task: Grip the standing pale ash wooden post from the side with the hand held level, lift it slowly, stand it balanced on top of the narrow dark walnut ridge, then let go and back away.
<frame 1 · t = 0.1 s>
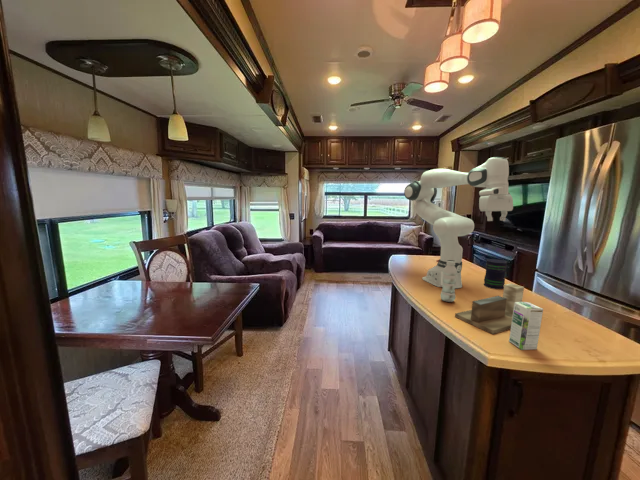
hand: (496, 220, 130), 39 cm above the table, tool pointing down, fingers open, 8 cm apart
ash post: (510, 315, 117), on the table
syrup box: (522, 346, 92), on the table
plastic bottle: (447, 301, 131), on the table
ridge: (487, 321, 110), on the table
storage jar: (493, 286, 155), on the table
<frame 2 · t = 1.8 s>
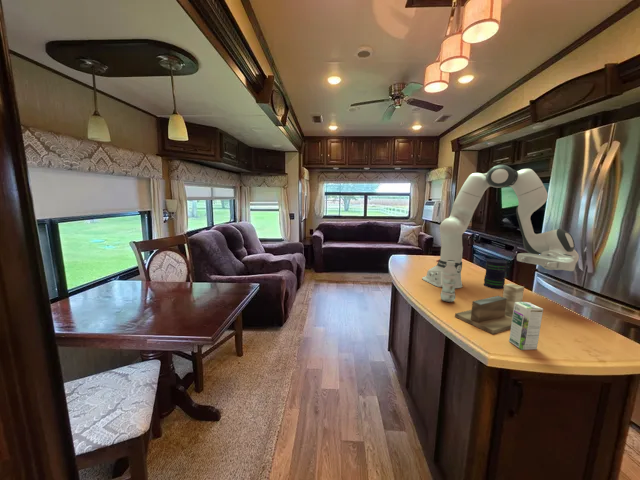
hand: (533, 262, 118), 22 cm above the table, tool horizontal, fingers open, 8 cm apart
nothing on the table moved.
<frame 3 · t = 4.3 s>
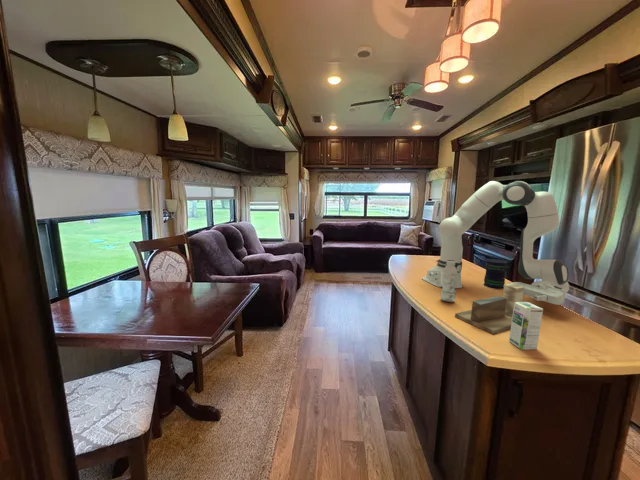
hand: (523, 294, 119), 8 cm above the table, tool horizontal, fingers open, 8 cm apart
nothing on the table moved.
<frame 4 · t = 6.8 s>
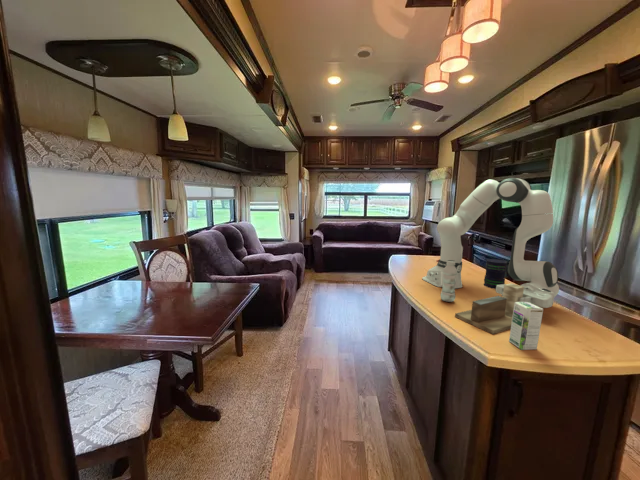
hand: (511, 297, 115), 8 cm above the table, tool horizontal, fingers closed on ash post, 5 cm apart
ash post: (510, 314, 117), on the table, touching gripper
everything else where it was.
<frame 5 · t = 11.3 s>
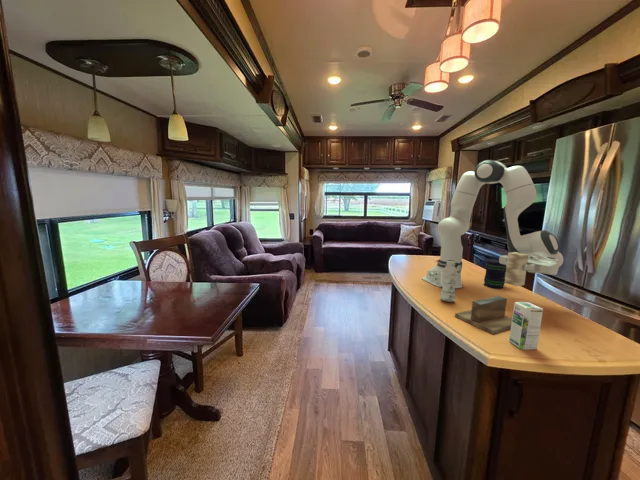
hand: (515, 265, 113), 22 cm above the table, tool horizontal, fingers closed on ash post, 5 cm apart
ash post: (514, 283, 115), point 14 cm above the table, touching gripper
everything else where it was.
when the fingers open (18 cm above the table, at t = 15.7 s): ash post stays where it is, resting on ridge.
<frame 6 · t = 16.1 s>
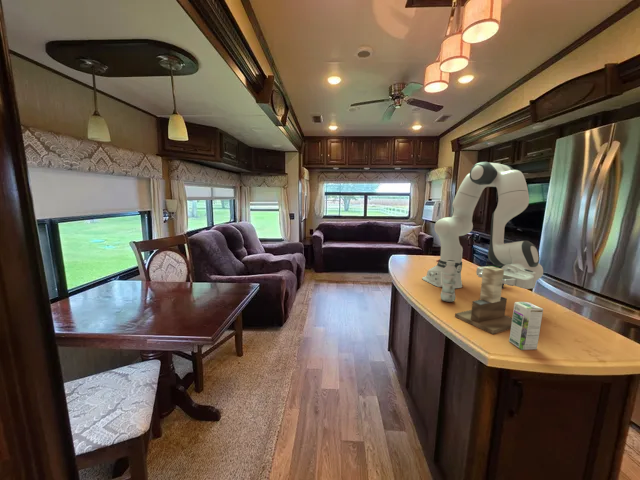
hand: (491, 278, 107), 18 cm above the table, tool horizontal, fingers open, 8 cm apart
ash post: (489, 299, 109), point 9 cm above the table, touching ridge
everything else where it was.
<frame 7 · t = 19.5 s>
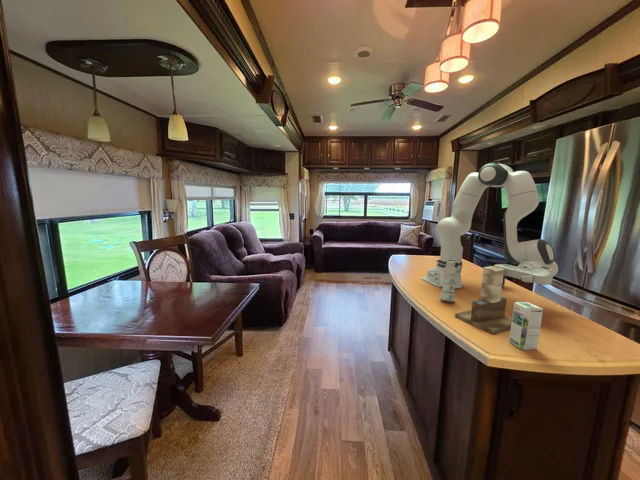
hand: (509, 275, 112), 18 cm above the table, tool horizontal, fingers open, 8 cm apart
nothing on the table moved.
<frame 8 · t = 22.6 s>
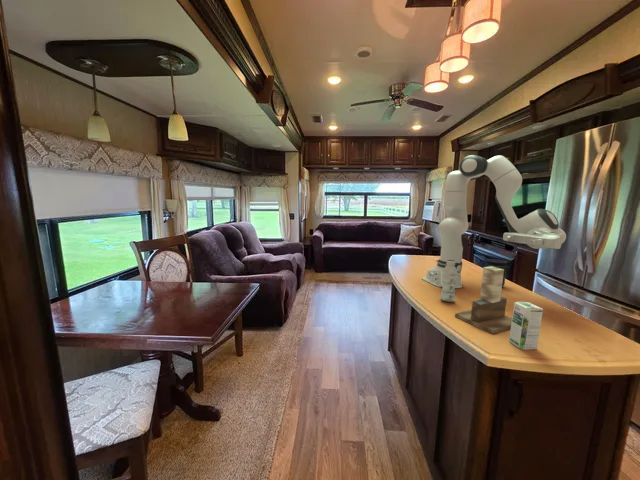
hand: (519, 240, 115), 32 cm above the table, tool horizontal, fingers open, 8 cm apart
nothing on the table moved.
at the end: ash post inside the target area on the ridge (0.0 cm from its centre), point 9.0 cm above the ridge's base; ash post tilted 0°; the gripper is holding nothing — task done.
